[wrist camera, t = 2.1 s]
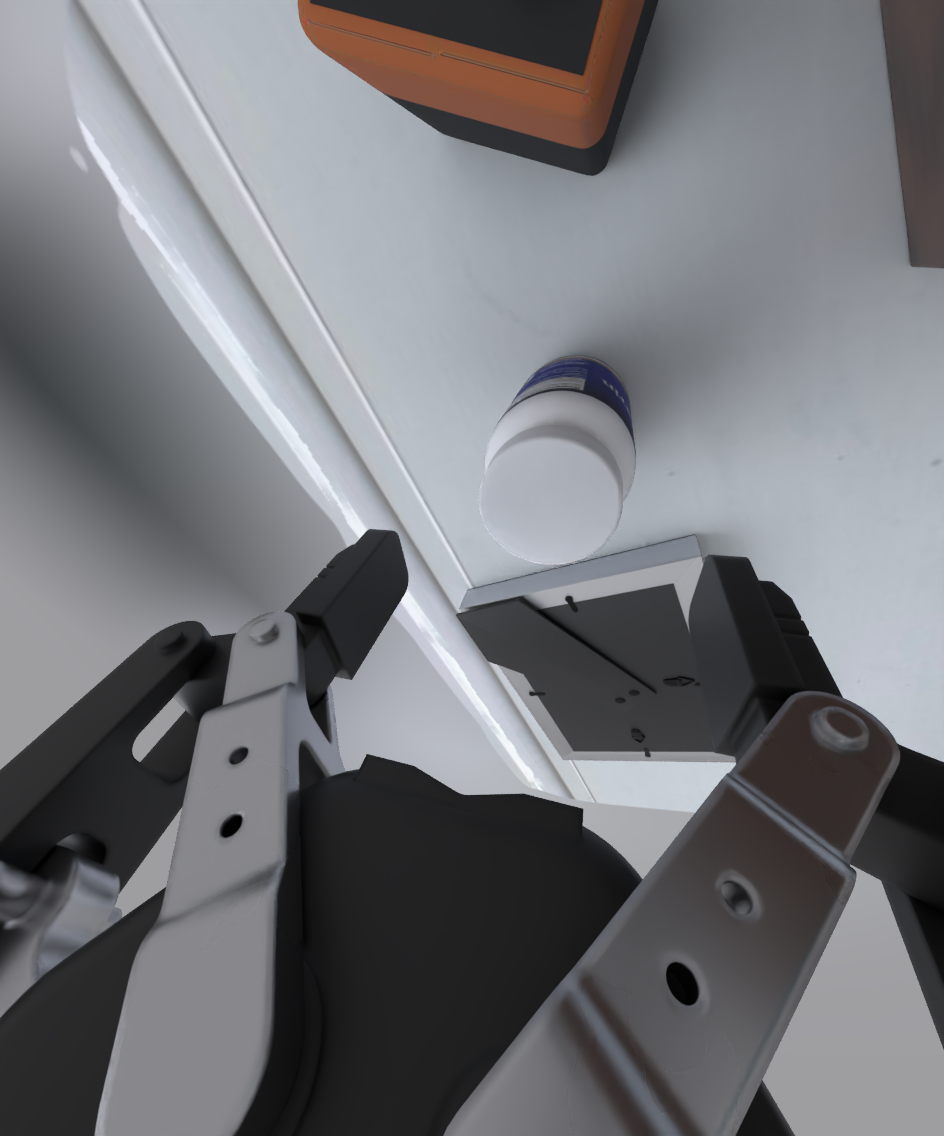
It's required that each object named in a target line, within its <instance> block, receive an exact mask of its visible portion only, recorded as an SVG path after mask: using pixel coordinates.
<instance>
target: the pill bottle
mask: <svg viewBox="0 0 944 1136" xmlns="http://www.w3.org/2000/svg"><path fill="white" fill-rule="evenodd" d="M635 467H636V451H635V444H634V437H633V428H632V420H631V411H630V403H629V397H628V393H627V390H626V388H625V386H624V384H623V382H622V380H621V379H620V377H619V376H618V375H617V373H616V372H615V371H614V370H613V369H612V368H610V367H609V366H608V365H606V364H605V363H603V362H601V361H599V360H596V359H593V358H590V357H584V356H568V357H563V358H559V359H556V360H554V361H552V362H550V363H547V364H546V365H544V366H543V367H541V368H540V369H539V370H537V371H536V372H535V373H534V374H533V375H532V376H531V377H530V378H529V379H528V380H527V381H526V383H525V384H524V385H523V387H522V388H521V390H520V391H519V393H518V394H517V396H516V397H515V399H514V400H513V401H512V403H511V405H510V406H509V408H508V409H507V410H506V412H505V413H504V415H503V416H502V418H501V419H500V421H499V422H498V424H497V426H496V427H495V429H494V431H493V433H492V435H491V437H490V440H489V442H488V446H487V449H486V455H485V474H484V476H483V479H482V481H481V485H480V490H479V508H480V513H481V517H482V520H483V522H484V524H485V527H486V528H487V530H488V532H489V533H490V534H491V536H492V537H493V538H494V540H495V541H496V542H497V543H498V544H499V545H501V546H502V547H503V548H504V549H505V550H507V551H508V552H509V553H511V554H513V555H515V556H517V557H519V558H521V559H524V560H526V561H529V562H533V563H538V564H546V565H560V564H567V563H571V562H574V561H578V560H581V559H583V558H585V557H587V556H589V555H591V554H592V553H594V552H595V551H597V550H598V549H600V548H601V547H602V546H603V545H604V544H605V543H606V542H607V541H608V540H609V538H610V537H611V536H612V534H613V533H614V531H615V529H616V527H617V525H618V523H619V520H620V517H621V513H622V507H623V501H624V500H625V498H626V496H627V494H628V492H629V490H630V488H631V485H632V482H633V479H634V474H635Z"/></svg>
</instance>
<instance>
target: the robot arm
mask: <svg viewBox="0 0 944 1136" xmlns="http://www.w3.org/2000/svg"><path fill="white" fill-rule="evenodd" d="M407 586H408V571H407V567H406V563H405V559H404V555H403V551H402V547H401V543H400V539H399V536H398V534H397V533H396V532H395V531H389V530H376V529H369V530H368V531H366V532H365V534H364V535H363V536H362V537H361V538H360V539H359V540H358V541H357V543H356V544H355V545H351V546H349V547H348V548H346V549H345V550H343V551H341V552H340V553H338V554H337V555H336V556H335V557H334V558H333V559H332V560H331V561H330V563H329V564H328V565H327V568H324V569H323V570H322V571H321V572H320V573H319V574H318V578H315V579H314V580H313V581H312V582H311V583H310V584H309V585H308V586H307V587H306V589H305V590H304V591H303V592H302V593H301V594H300V595H299V596H298V597H297V598H296V599H295V600H294V601H293V603H292V604H291V605H290V606H289V607H288V608H287V609H286V610H285V611H284V612H282V611H277V612H270V613H266V614H263V615H260V616H258V617H256V618H254V619H252V620H251V621H249V622H248V623H247V624H245V625H244V626H243V627H242V628H241V629H240V630H239V631H238V632H237V633H235V634H227V635H218V636H211V635H210V634H209V633H208V631H207V630H206V628H205V627H204V626H203V625H202V624H201V623H199V622H196V621H186V622H181V623H177V624H174V625H172V626H169V627H167V628H165V629H163V630H161V631H160V632H158V633H156V634H155V635H154V636H152V637H151V638H150V639H149V640H147V641H146V642H145V643H144V644H143V645H142V646H141V647H139V648H138V649H137V650H136V651H135V652H134V653H133V654H131V655H130V656H129V657H128V658H127V659H126V660H125V661H124V662H123V663H121V664H120V665H119V666H118V667H117V668H116V669H114V670H113V671H112V672H111V673H110V674H109V675H108V676H107V677H105V678H104V679H103V680H102V681H101V682H100V683H99V684H97V685H96V686H95V687H94V688H93V689H92V690H91V691H90V692H88V694H86V695H85V696H84V697H83V698H82V699H80V700H79V701H78V702H77V703H76V704H75V705H74V706H73V707H71V708H70V709H69V710H68V711H67V712H66V713H65V714H63V715H62V716H61V717H60V718H59V719H58V720H57V721H56V722H54V723H53V724H52V725H51V726H50V727H49V728H48V729H46V730H45V731H44V732H43V733H42V734H41V735H40V736H38V737H37V738H36V739H35V740H34V741H33V742H32V743H31V744H30V745H29V746H27V747H26V748H25V749H24V750H23V751H21V752H20V753H19V754H18V755H17V756H16V757H15V758H14V759H12V760H11V761H10V762H9V763H8V764H7V765H6V766H4V767H3V768H2V769H1V770H0V1136H795V1135H794V1133H793V1131H792V1130H791V1128H790V1126H789V1125H788V1123H787V1121H786V1119H785V1118H784V1116H783V1114H782V1113H781V1111H780V1109H779V1108H778V1106H777V1104H776V1102H775V1101H774V1099H773V1097H772V1096H771V1094H770V1092H769V1091H768V1089H767V1087H766V1086H765V1084H764V1082H763V1080H762V1079H763V1077H764V1075H765V1073H766V1071H767V1068H768V1066H769V1064H770V1062H771V1060H772V1058H773V1056H774V1054H775V1052H776V1050H777V1048H778V1046H779V1044H780V1041H781V1039H782V1037H783V1035H784V1033H785V1031H786V1029H787V1027H788V1025H789V1022H790V1021H791V1018H792V1016H793V1014H794V1012H795V1010H796V1008H797V1006H798V1004H799V1002H800V1000H801V998H802V996H803V993H804V991H805V989H806V987H807V985H808V983H809V981H810V979H811V977H812V975H813V973H814V971H815V968H816V966H817V964H818V962H819V960H820V958H821V956H822V954H823V952H824V950H825V948H826V945H827V943H828V941H829V939H830V937H831V935H832V933H833V931H834V929H835V927H836V924H837V922H838V920H839V918H840V916H841V914H842V912H843V910H844V908H845V906H846V904H847V902H848V899H849V897H850V895H851V893H852V890H853V888H854V885H855V881H856V871H855V870H854V869H853V868H851V867H850V864H851V865H853V866H855V867H857V868H859V869H861V870H862V871H864V872H866V873H868V874H870V875H872V876H874V877H876V878H878V879H880V880H881V881H882V884H883V886H884V889H885V892H886V895H887V898H888V900H889V903H890V905H891V908H892V911H893V914H894V917H895V919H896V922H897V925H898V927H899V930H900V933H901V935H902V938H903V941H904V944H905V946H906V949H907V951H908V954H909V957H910V960H911V962H912V965H913V968H914V971H915V973H916V976H917V979H918V981H919V984H920V986H921V989H922V992H923V995H924V997H925V1000H926V1003H927V1006H928V1008H929V1011H930V1014H931V1016H932V1019H933V1022H934V1025H935V1027H936V1030H937V1033H938V1035H939V1038H940V1041H941V1043H942V1046H943V1049H944V762H941V761H939V760H936V759H934V758H931V757H928V756H926V755H923V754H921V753H918V752H915V751H913V750H910V749H908V748H906V747H903V746H901V745H899V744H897V742H896V741H895V739H894V737H893V736H892V734H891V733H890V731H889V730H888V729H887V728H886V727H885V726H884V725H883V724H882V723H881V722H880V721H879V720H878V719H877V718H876V717H874V716H873V715H872V714H871V713H869V712H868V711H866V710H865V709H863V708H862V707H860V706H858V705H857V704H855V703H853V702H851V701H849V700H847V699H844V698H843V697H842V695H841V693H840V691H839V689H838V687H837V685H836V683H835V681H834V679H833V677H832V675H831V673H830V672H829V670H828V668H827V666H826V664H825V662H824V660H823V658H822V656H821V654H820V652H819V650H818V648H817V646H816V645H815V643H814V641H813V639H812V637H811V636H809V631H808V629H807V627H806V625H805V623H804V621H801V616H800V614H799V612H798V610H797V608H796V606H795V604H794V602H793V600H792V598H791V597H789V596H788V595H787V594H786V593H785V592H784V591H782V590H781V589H780V588H779V587H778V586H777V585H776V584H774V583H773V582H770V581H759V580H758V578H757V576H756V574H755V571H754V569H753V567H752V565H751V562H750V561H749V559H748V558H746V557H734V556H721V555H708V556H707V557H706V559H705V561H704V564H703V567H702V570H701V573H700V576H699V579H698V582H697V585H696V588H695V591H694V594H693V597H692V600H691V604H690V608H689V617H688V623H689V631H690V636H691V641H692V646H693V651H694V656H695V661H696V666H697V671H698V676H699V681H700V685H701V690H702V695H703V700H704V705H705V710H706V715H707V720H708V725H709V730H710V735H711V740H712V745H713V750H714V753H718V754H723V755H728V756H733V757H735V760H736V766H735V767H734V768H733V769H732V771H731V772H730V773H727V774H726V775H725V776H724V778H723V779H722V780H721V781H720V782H719V784H718V785H717V786H716V787H715V789H714V790H713V791H712V792H711V794H710V795H709V796H708V798H707V799H706V800H705V801H704V803H703V804H702V805H701V806H700V808H699V809H698V810H697V812H696V813H695V814H694V815H693V817H692V818H691V819H690V821H689V822H688V823H687V824H686V825H685V827H684V828H683V829H682V831H681V832H680V833H679V834H678V836H677V837H676V838H675V840H674V841H673V842H672V843H671V845H670V846H669V847H668V848H667V850H666V851H665V852H664V854H663V855H662V856H661V857H660V858H659V860H658V861H657V862H656V864H655V865H654V866H653V867H652V869H651V870H650V871H649V873H648V874H647V875H646V876H645V878H644V879H642V878H641V877H640V875H639V874H638V873H637V871H635V869H634V868H633V867H632V866H631V865H630V864H629V863H628V861H627V860H626V859H625V858H624V857H623V856H622V855H621V854H620V853H619V852H618V851H617V850H615V849H614V848H613V847H612V846H611V845H610V844H609V843H607V842H606V841H605V840H603V839H602V838H600V837H599V836H598V835H597V834H595V833H593V832H592V831H590V830H589V829H587V828H585V827H584V826H582V823H583V809H582V808H578V807H574V806H570V805H566V804H562V803H558V802H554V801H550V800H546V799H542V798H538V797H534V796H530V795H526V794H494V795H463V794H460V793H458V792H456V791H454V790H452V789H451V788H449V787H447V786H446V785H444V784H442V783H441V782H439V781H438V780H436V779H434V778H433V777H431V776H430V775H428V774H426V773H424V772H423V771H421V770H419V769H418V768H416V767H415V766H412V765H408V764H404V763H400V762H396V761H392V760H388V759H384V758H380V757H376V756H373V755H369V754H367V755H366V757H365V759H364V761H363V763H362V765H361V767H360V769H358V770H352V771H346V772H345V769H344V766H343V763H342V760H341V757H340V753H339V746H338V738H337V728H336V721H335V711H334V702H333V693H332V689H331V687H330V683H331V682H332V680H333V679H334V677H340V678H345V679H350V680H352V679H353V677H354V675H355V674H356V672H357V670H358V669H359V667H360V666H361V664H362V662H363V661H364V659H365V658H366V656H367V654H368V653H369V651H370V649H371V648H372V646H373V645H374V643H375V641H376V640H377V638H378V636H379V635H380V633H381V632H382V630H383V628H384V627H385V625H386V623H387V622H388V620H389V619H390V616H391V615H392V614H393V612H394V610H395V609H396V607H397V606H398V604H399V602H400V601H401V599H402V597H403V596H404V594H405V592H406V590H407ZM173 697H174V699H175V700H176V701H177V702H178V703H179V704H180V705H181V706H182V707H183V708H184V709H185V710H186V711H185V712H184V713H183V714H182V715H181V716H180V717H179V719H178V720H177V721H176V722H175V723H174V724H173V725H172V727H171V728H170V729H169V730H168V731H167V732H166V734H165V735H164V736H163V737H162V738H161V739H160V740H159V741H158V743H157V744H156V745H155V746H154V747H153V748H152V749H151V751H150V752H149V753H148V754H147V755H146V757H144V759H143V760H142V761H141V762H139V761H137V760H136V759H135V758H134V757H133V754H132V747H133V743H134V741H135V739H136V737H137V736H138V735H139V733H140V732H141V731H142V730H143V729H144V728H145V727H146V726H147V725H148V724H149V723H150V721H151V720H152V719H153V718H154V717H155V716H156V715H157V714H158V713H159V712H160V711H161V710H162V709H163V707H164V706H165V705H166V704H167V703H168V702H169V701H170V700H171V699H172V698H173ZM182 806H183V807H182ZM181 808H182V812H181V817H180V822H179V827H178V832H177V837H176V842H175V846H174V851H173V856H172V861H171V866H170V871H169V876H168V881H167V885H166V887H165V888H164V889H162V890H161V891H160V892H158V893H157V894H155V895H154V896H153V897H151V898H150V899H148V900H147V901H145V902H144V903H143V904H141V905H140V906H139V907H137V908H136V909H134V910H133V911H132V912H130V913H129V914H127V915H126V916H124V917H123V918H122V912H121V910H120V909H119V908H117V907H115V904H116V901H117V898H118V894H119V893H120V892H121V890H122V889H123V888H124V886H125V885H126V883H127V882H128V881H129V879H130V878H131V877H132V875H133V874H134V872H135V871H136V870H137V868H138V867H139V865H140V864H141V863H142V861H143V860H144V859H145V857H146V856H147V855H148V853H149V852H150V850H151V849H152V848H153V846H154V845H155V843H156V842H157V841H158V839H159V838H160V836H161V835H162V834H163V833H164V831H165V830H166V828H167V827H168V826H169V824H170V823H171V822H172V820H173V819H174V817H175V816H176V814H177V813H178V812H179V810H180V809H181Z"/></svg>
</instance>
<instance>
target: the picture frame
mask: <svg viewBox="0 0 944 1136" xmlns="http://www.w3.org/2000/svg"><path fill="white" fill-rule="evenodd" d="M703 564H704V563H703V559H702V555H701V552H700V548H699V545H698V542H697V538H696V535H693V536H688V537H684V538H680V539H676V540H672V541H668V542H664V543H660V544H656V545H651V546H647V547H643V548H639V549H635V550H631V551H627V552H623V553H619V554H614V555H610V556H606V557H602V558H598V559H594V560H590V561H586V562H582V563H577V564H573V565H569V566H565V567H561V568H557V569H553V570H549V571H545V572H540V573H536V574H532V575H528V576H524V577H520V578H516V579H512V580H508V581H503V582H499V583H495V584H491V585H487V586H483V587H479V588H475V589H471V590H467V592H466V594H465V596H464V599H463V601H462V603H461V606H460V608H459V609H460V610H461V612H462V613H458V614H457V615H456V616H457V618H458V619H459V621H460V622H461V623H462V625H463V626H464V628H465V629H466V631H467V632H468V633H469V635H470V636H471V638H472V639H473V641H474V642H475V643H476V645H477V646H478V648H479V649H480V651H481V652H482V653H483V655H484V656H485V658H486V659H487V661H489V662H491V663H494V664H497V665H498V666H499V667H500V669H501V670H502V672H503V673H504V674H505V676H506V677H507V679H508V680H509V682H510V683H511V685H512V686H513V688H514V689H515V690H516V692H517V693H518V695H519V696H520V698H521V699H522V701H523V702H524V704H525V705H526V707H527V708H528V709H529V711H530V712H531V714H532V715H533V717H534V718H535V720H536V721H537V723H538V724H539V725H540V727H541V728H542V730H543V731H544V733H545V734H546V736H547V737H548V739H549V740H550V741H551V743H552V744H553V746H554V747H555V749H556V750H557V752H558V753H559V755H560V756H561V757H562V759H563V760H602V761H675V762H736V760H735V757H733V756H728V755H723V754H718V753H714V750H713V745H712V740H711V735H710V730H709V725H708V720H707V715H706V710H705V705H704V700H703V695H702V690H701V685H700V681H699V676H698V671H697V666H696V661H695V656H694V651H693V646H692V641H691V636H690V631H689V623H688V617H689V608H690V604H691V600H692V597H693V594H694V591H695V588H696V585H697V582H698V579H699V576H700V573H701V570H702V567H703Z"/></svg>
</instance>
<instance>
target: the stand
mask: <svg viewBox="0 0 944 1136" xmlns="http://www.w3.org/2000/svg"><path fill="white" fill-rule="evenodd" d="M880 1H881V10H882V19H883V27H884V36H885V45H886V53H887V62H888V70H889V79H890V88H891V96H892V105H893V114H894V122H895V131H896V140H897V148H898V157H899V166H900V174H901V183H902V192H903V200H904V209H905V217H906V226H907V235H908V243H909V252H910V261H911V266H912V267H928V268H944V0H880Z"/></svg>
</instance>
